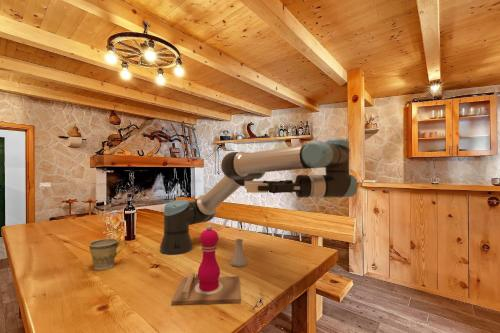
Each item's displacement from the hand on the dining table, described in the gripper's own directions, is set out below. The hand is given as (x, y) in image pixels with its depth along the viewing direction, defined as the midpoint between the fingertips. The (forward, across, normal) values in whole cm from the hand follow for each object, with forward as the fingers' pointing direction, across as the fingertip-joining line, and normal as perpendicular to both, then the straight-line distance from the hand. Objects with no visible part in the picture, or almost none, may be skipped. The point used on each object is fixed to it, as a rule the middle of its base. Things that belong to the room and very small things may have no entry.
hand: (245, 186), depth 79 cm
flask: (+1, +22, -34) cm, 41 cm away
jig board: (+12, 0, -34) cm, 36 cm away
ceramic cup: (+54, +22, -34) cm, 68 cm away
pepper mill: (+12, 0, -33) cm, 35 cm away
